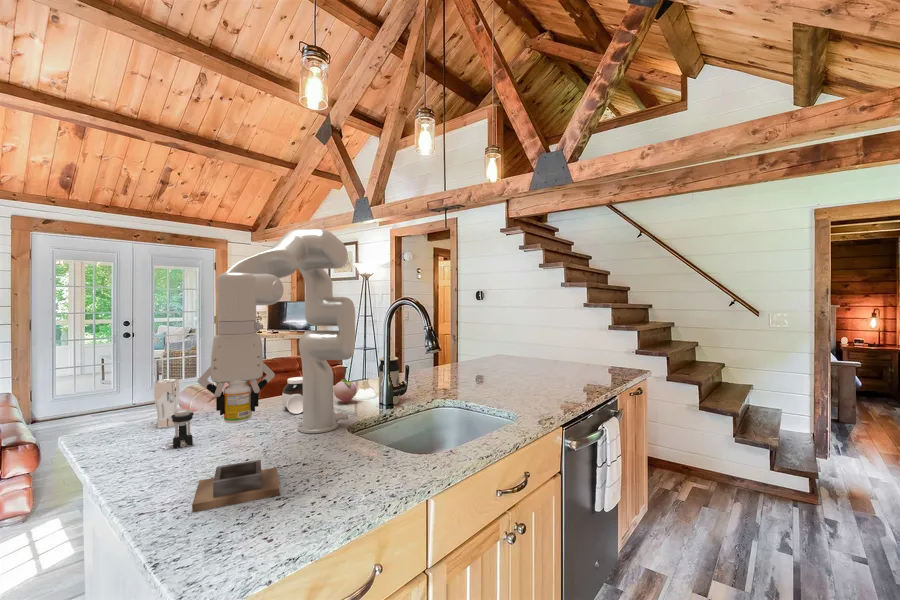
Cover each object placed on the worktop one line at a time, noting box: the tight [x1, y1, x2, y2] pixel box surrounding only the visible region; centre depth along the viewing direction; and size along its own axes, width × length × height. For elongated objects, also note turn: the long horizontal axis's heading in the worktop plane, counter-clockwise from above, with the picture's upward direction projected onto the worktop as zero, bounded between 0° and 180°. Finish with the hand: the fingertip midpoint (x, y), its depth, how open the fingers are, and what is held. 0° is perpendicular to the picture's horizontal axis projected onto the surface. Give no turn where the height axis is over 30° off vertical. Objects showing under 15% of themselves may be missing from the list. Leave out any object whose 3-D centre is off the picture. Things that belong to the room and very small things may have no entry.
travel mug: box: [378, 356, 400, 405], centre depth 165 cm, size 8×8×18 cm
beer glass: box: [153, 378, 180, 429], centre depth 137 cm, size 7×7×15 cm
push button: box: [165, 409, 194, 449], centre depth 118 cm, size 7×5×10 cm
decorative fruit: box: [333, 377, 357, 404], centre depth 165 cm, size 9×8×10 cm
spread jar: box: [281, 376, 303, 415], centre depth 155 cm, size 12×11×12 cm
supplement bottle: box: [223, 380, 253, 424], centre depth 90 cm, size 5×5×10 cm
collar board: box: [191, 459, 281, 513], centre depth 90 cm, size 16×12×4 cm
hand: (238, 411), depth 90 cm, fingers closed on supplement bottle, 5 cm apart
